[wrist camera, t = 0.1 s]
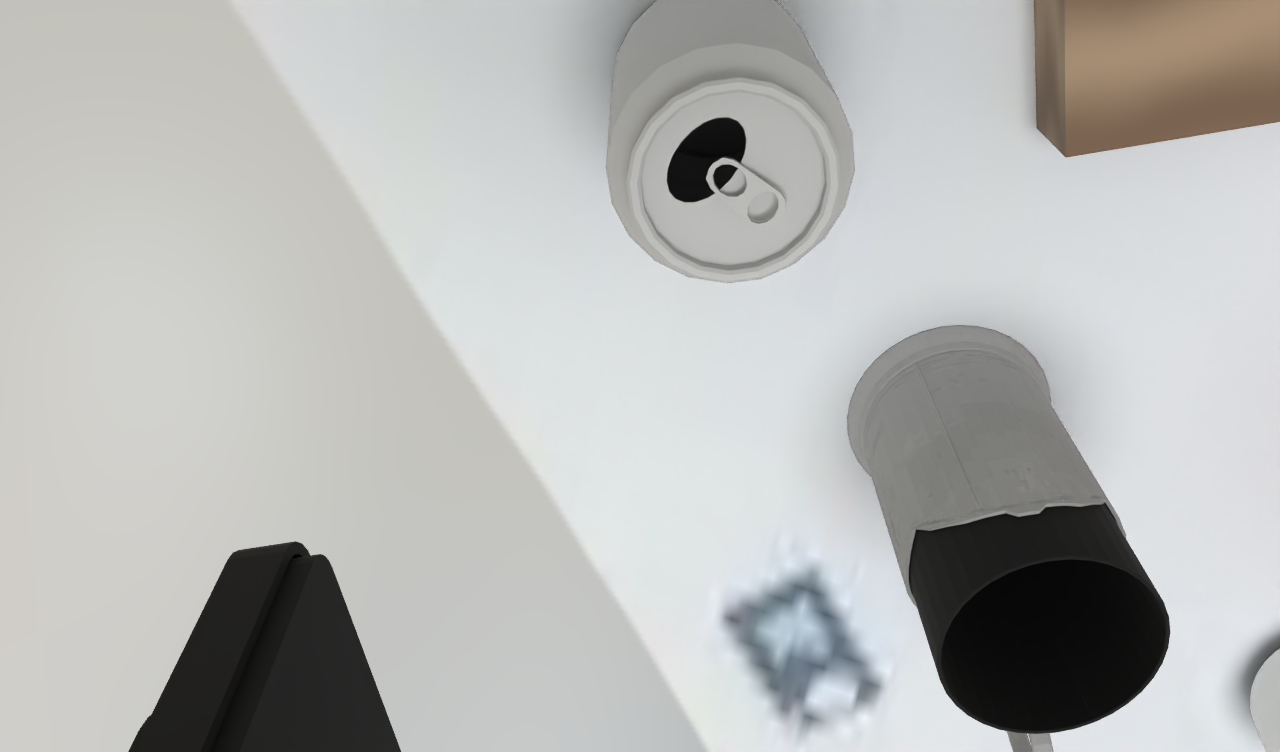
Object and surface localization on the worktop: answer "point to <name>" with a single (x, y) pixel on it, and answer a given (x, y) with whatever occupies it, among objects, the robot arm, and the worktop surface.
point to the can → (725, 139)
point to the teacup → (1267, 702)
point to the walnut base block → (1153, 70)
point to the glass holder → (1004, 536)
